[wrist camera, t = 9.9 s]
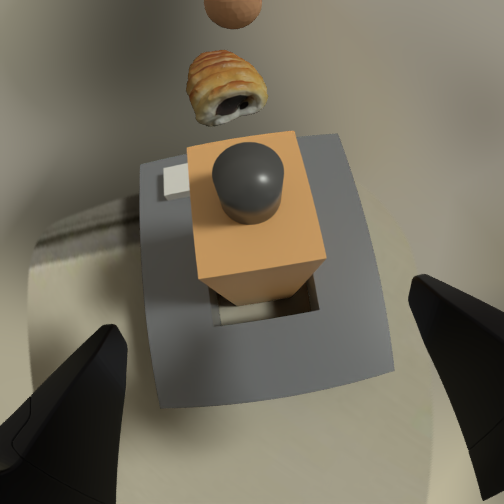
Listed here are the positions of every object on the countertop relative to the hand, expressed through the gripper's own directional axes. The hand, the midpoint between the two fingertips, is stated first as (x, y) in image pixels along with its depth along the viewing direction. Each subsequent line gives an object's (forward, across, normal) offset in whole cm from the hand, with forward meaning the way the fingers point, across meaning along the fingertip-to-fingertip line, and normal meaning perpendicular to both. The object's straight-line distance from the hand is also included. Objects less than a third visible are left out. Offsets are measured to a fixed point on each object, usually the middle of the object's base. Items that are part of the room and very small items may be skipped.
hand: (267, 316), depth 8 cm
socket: (+10, 0, +5) cm, 12 cm away
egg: (+31, -2, -15) cm, 35 cm away
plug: (+10, 0, +5) cm, 12 cm away
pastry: (+22, +1, -6) cm, 23 cm away
